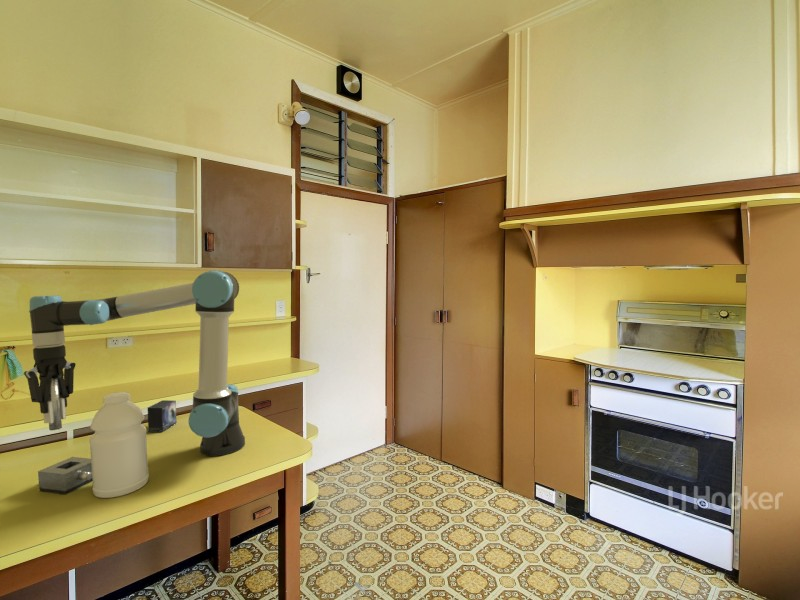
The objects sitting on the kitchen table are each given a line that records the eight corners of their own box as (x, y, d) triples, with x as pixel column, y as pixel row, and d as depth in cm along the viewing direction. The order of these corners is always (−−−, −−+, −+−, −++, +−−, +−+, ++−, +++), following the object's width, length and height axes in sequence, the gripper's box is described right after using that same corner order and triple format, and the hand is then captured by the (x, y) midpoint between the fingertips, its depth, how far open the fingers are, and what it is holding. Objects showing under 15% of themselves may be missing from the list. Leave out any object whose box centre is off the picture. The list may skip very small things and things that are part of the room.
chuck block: (104, 478, 126) (103, 459, 126) (72, 495, 117) (70, 475, 116) (73, 475, 129) (72, 456, 129) (39, 491, 119) (37, 471, 119)
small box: (163, 432, 165) (161, 407, 164) (147, 432, 165) (146, 407, 164) (177, 423, 175) (176, 399, 175) (163, 423, 175) (161, 400, 175)
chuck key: (69, 427, 126) (65, 373, 125) (59, 431, 123) (54, 376, 122) (52, 426, 127) (48, 373, 127) (41, 429, 125) (37, 375, 124)
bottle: (86, 503, 112) (79, 404, 111) (100, 481, 125) (94, 392, 123) (145, 492, 118) (139, 397, 116) (152, 471, 130) (148, 386, 129)
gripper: (67, 341, 132) (72, 411, 134) (9, 350, 117) (16, 429, 118) (84, 341, 131) (90, 412, 132) (28, 350, 115) (35, 431, 116)
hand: (55, 420), depth 125 cm, fingers closed on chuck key, 3 cm apart
